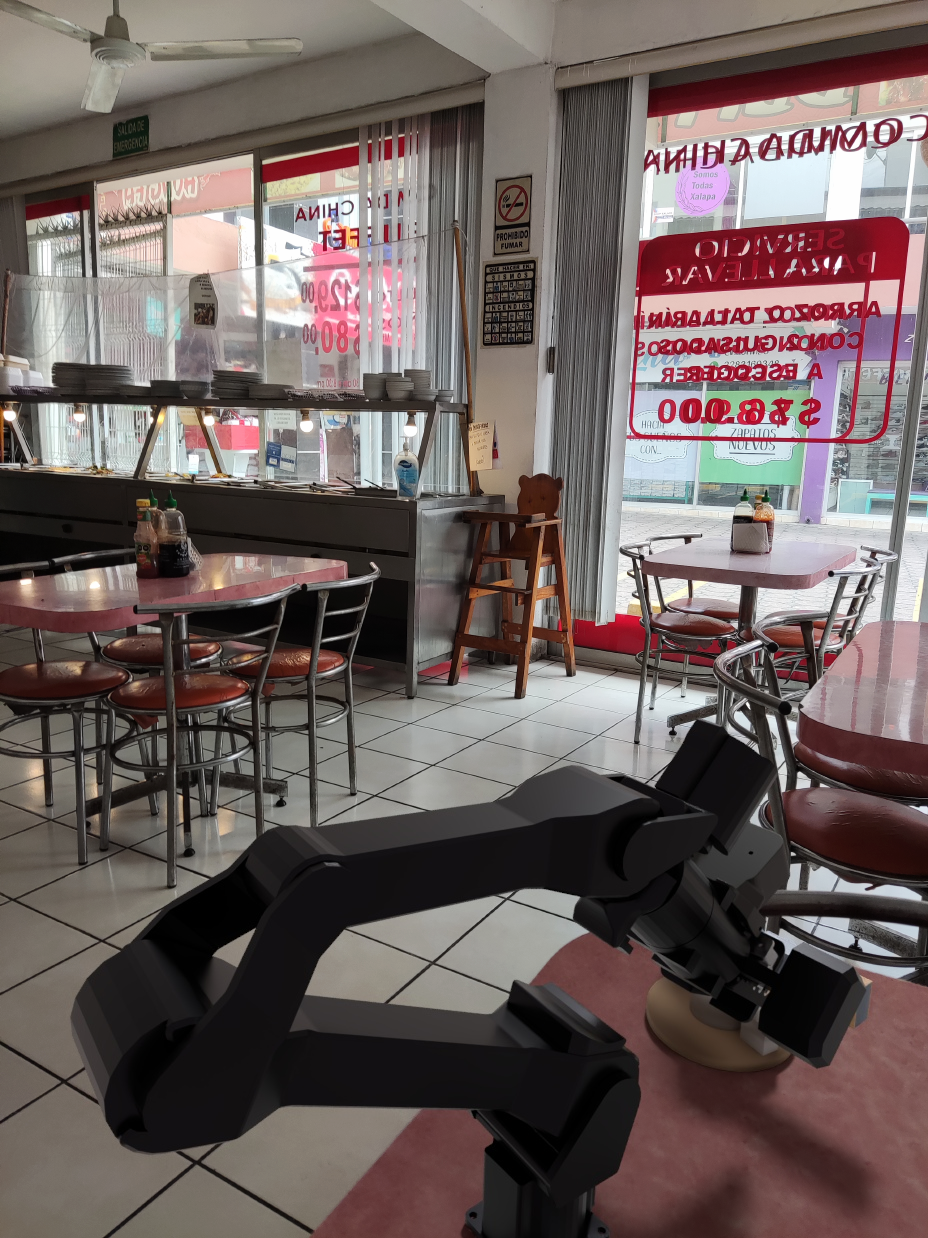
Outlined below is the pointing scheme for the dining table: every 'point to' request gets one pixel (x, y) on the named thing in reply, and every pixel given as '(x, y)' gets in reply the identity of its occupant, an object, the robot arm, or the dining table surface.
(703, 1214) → the dining table surface
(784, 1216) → the dining table surface
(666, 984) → the tan disc with post
